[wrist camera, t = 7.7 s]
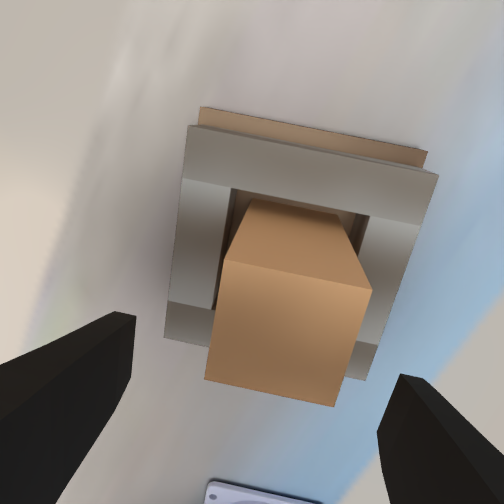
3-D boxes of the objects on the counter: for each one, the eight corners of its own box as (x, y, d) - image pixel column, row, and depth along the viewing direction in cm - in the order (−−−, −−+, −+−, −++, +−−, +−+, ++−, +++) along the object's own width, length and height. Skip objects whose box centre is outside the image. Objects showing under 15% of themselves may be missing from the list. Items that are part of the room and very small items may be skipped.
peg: (316, 290, 19) (333, 407, 11) (238, 274, 19) (204, 379, 11) (337, 214, 17) (372, 290, 10) (252, 197, 17) (224, 259, 10)
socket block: (353, 350, 21) (365, 393, 18) (178, 312, 21) (158, 348, 18) (420, 149, 17) (451, 157, 14) (205, 107, 17) (184, 105, 14)
